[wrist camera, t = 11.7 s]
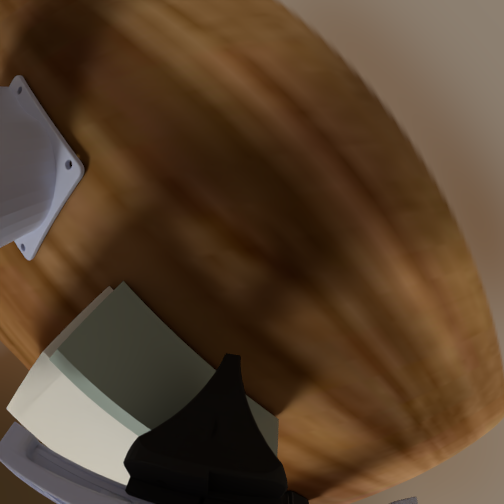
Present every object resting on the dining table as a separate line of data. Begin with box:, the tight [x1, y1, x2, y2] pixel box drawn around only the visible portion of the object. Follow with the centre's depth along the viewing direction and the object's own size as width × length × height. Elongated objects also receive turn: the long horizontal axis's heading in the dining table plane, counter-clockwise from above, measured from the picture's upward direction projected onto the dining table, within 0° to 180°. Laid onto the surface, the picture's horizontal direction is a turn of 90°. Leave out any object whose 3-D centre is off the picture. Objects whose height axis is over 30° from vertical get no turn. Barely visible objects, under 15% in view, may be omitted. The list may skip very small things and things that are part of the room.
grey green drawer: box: [49, 281, 279, 457], centre depth 14 cm, size 13×13×6 cm
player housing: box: [7, 286, 138, 485], centre depth 15 cm, size 14×14×6 cm
